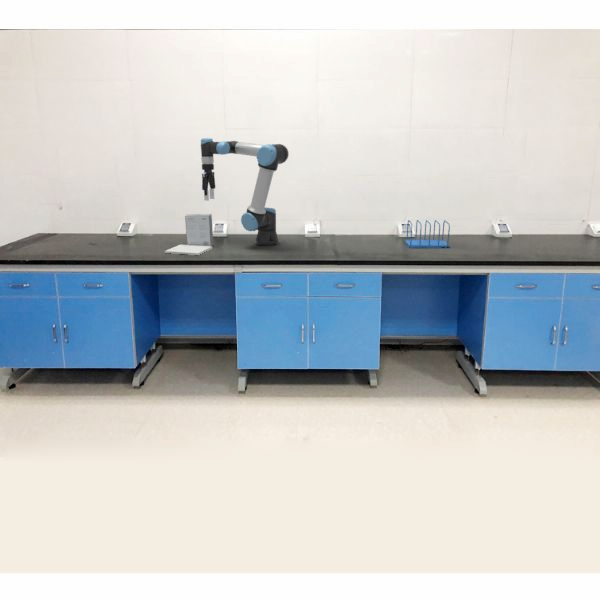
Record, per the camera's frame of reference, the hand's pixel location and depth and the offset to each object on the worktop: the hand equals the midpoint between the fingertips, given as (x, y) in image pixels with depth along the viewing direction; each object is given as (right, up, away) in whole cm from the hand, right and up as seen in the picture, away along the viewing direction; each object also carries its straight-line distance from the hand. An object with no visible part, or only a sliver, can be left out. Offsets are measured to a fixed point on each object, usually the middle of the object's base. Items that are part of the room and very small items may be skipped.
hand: (209, 199), depth 380 cm
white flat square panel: (-9, -35, -22) cm, 42 cm away
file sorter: (+139, -30, -6) cm, 143 cm away
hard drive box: (-5, -31, -7) cm, 32 cm away
